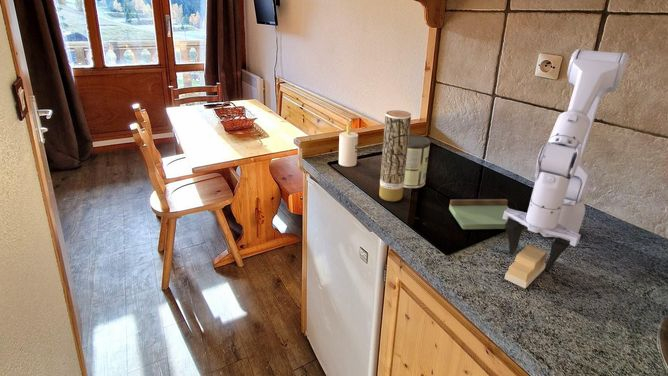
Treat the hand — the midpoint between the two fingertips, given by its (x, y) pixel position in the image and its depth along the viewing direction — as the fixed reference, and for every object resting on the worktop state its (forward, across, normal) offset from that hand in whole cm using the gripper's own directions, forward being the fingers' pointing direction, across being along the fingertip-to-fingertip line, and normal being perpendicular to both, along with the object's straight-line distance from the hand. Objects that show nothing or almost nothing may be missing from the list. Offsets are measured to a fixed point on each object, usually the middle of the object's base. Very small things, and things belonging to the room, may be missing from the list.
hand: (530, 259), depth 86 cm
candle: (+3, -70, +16) cm, 72 cm away
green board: (+3, -18, +15) cm, 24 cm away
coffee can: (+3, -46, +19) cm, 50 cm away
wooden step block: (+3, 0, -1) cm, 3 cm away
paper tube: (+3, -43, +6) cm, 43 cm away
